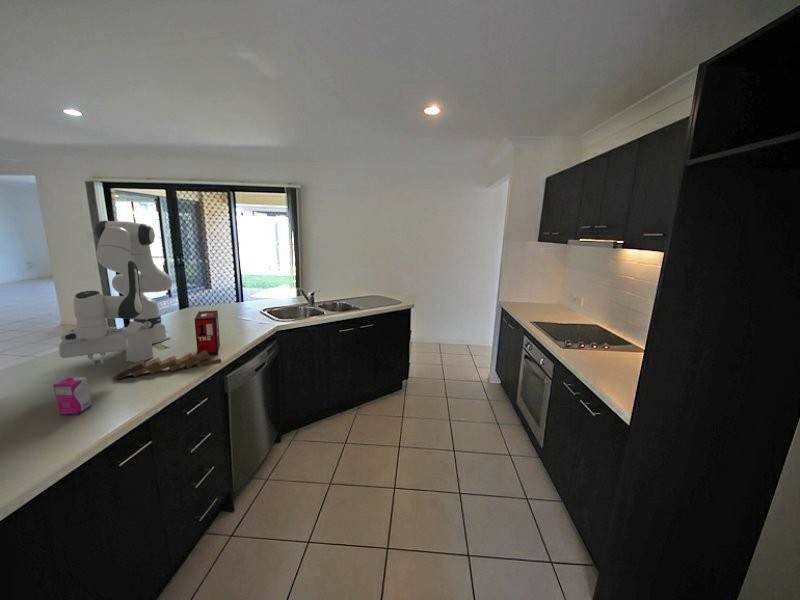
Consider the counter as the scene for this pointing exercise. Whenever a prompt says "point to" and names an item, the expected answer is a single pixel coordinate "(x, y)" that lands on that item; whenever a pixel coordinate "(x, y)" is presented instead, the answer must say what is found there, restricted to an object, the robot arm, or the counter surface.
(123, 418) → the counter surface
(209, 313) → the cleaning product box
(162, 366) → the tile
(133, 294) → the robot arm
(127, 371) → the tile
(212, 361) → the tile
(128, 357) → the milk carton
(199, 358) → the tile
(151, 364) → the tile
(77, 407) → the supplement box
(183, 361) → the tile
